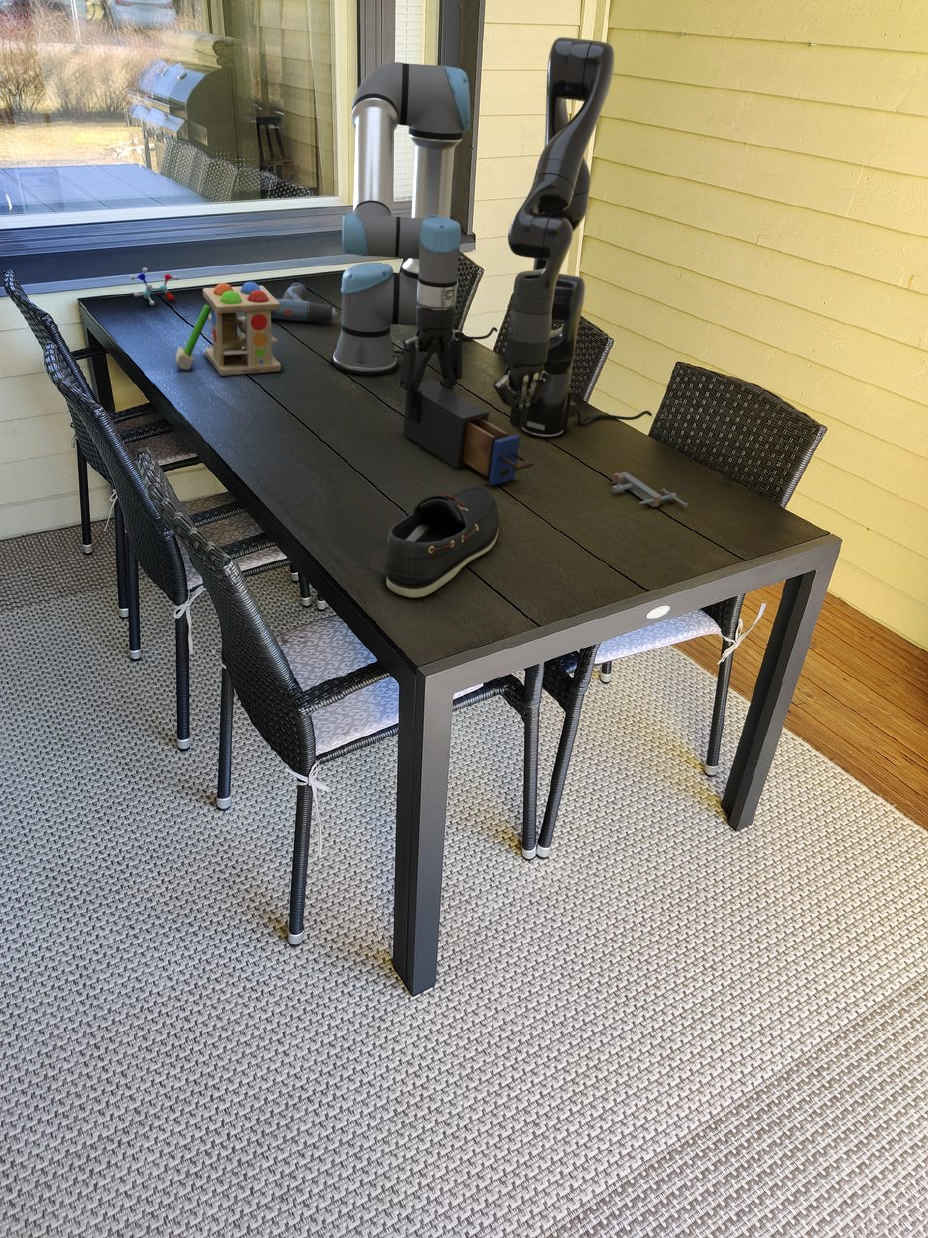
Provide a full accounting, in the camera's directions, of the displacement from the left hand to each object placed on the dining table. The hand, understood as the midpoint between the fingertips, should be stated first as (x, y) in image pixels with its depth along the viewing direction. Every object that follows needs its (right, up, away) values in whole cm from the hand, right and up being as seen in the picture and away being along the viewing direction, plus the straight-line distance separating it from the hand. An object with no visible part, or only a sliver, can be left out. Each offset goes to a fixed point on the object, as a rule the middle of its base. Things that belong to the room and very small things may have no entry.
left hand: (428, 416), depth 202 cm
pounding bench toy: (-49, +18, +28) cm, 59 cm away
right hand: (+17, -6, -20) cm, 27 cm away
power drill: (-36, +42, +65) cm, 85 cm away
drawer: (+11, -12, -9) cm, 19 cm away
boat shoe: (+4, -30, -35) cm, 46 cm away
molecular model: (-77, +44, +63) cm, 109 cm away
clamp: (+42, -18, -11) cm, 47 cm away
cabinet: (+3, -6, 0) cm, 7 cm away
